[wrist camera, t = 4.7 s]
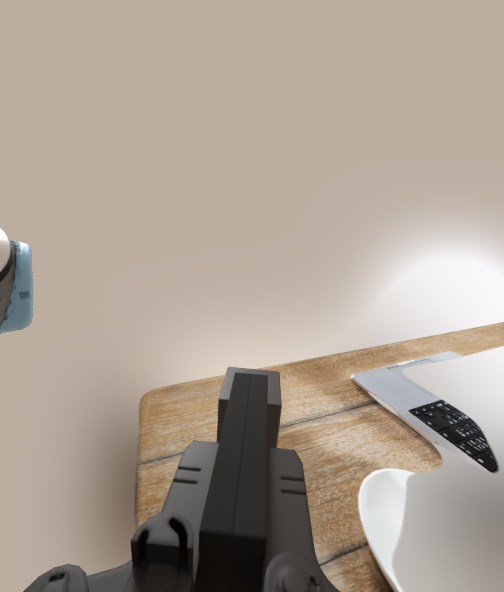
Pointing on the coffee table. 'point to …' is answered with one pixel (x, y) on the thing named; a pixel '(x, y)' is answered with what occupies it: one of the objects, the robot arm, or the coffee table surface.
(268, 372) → the dark grey block
